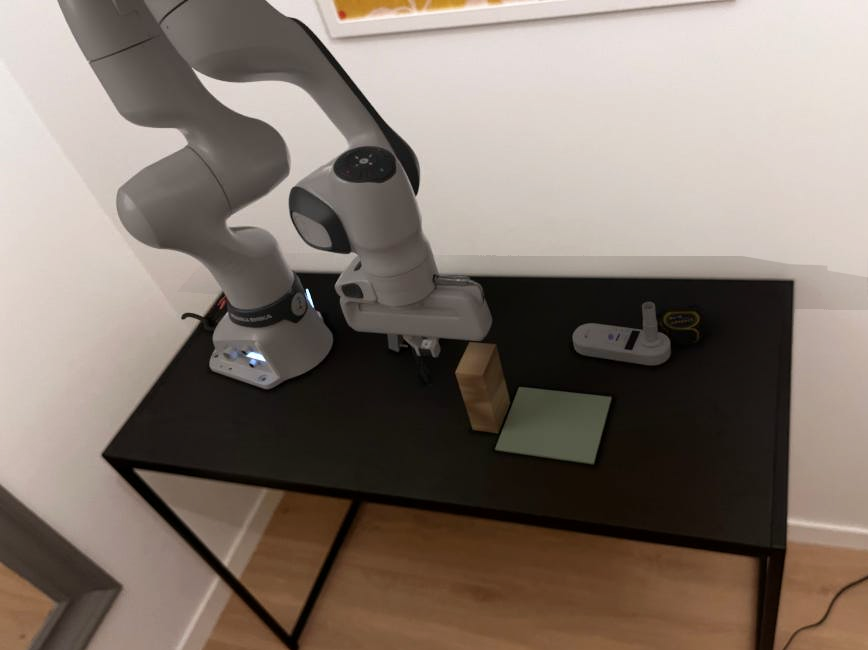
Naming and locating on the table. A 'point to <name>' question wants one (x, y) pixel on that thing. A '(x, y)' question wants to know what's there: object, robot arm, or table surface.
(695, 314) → the tape measure
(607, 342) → the electronic device
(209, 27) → the robot arm
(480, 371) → the block
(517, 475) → the table surface
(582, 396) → the mat
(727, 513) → the table surface
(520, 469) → the table surface
